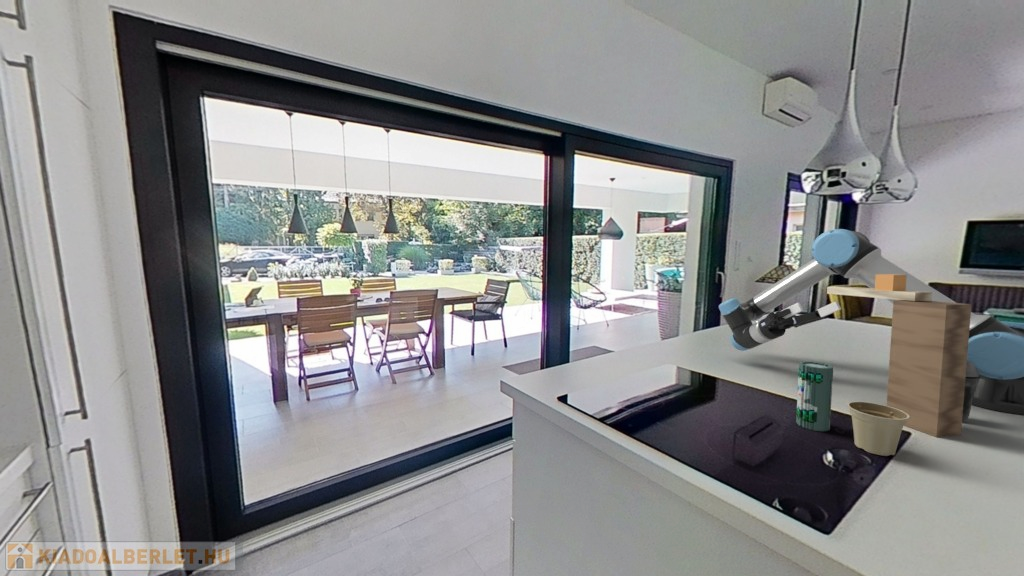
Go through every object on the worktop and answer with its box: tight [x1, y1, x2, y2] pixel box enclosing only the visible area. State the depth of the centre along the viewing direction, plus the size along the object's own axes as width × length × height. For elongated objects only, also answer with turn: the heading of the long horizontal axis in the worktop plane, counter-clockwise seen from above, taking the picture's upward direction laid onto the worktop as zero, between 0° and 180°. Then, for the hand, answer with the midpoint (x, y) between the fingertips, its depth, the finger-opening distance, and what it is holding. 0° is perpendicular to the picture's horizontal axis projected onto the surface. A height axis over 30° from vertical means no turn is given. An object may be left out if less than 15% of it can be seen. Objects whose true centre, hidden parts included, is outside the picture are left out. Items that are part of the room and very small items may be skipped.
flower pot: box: [846, 400, 910, 457], centre depth 79 cm, size 9×9×9 cm
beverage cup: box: [962, 360, 980, 424], centre depth 93 cm, size 7×7×20 cm
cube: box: [875, 274, 907, 291], centre depth 96 cm, size 4×4×4 cm
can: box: [795, 360, 834, 432], centre depth 90 cm, size 6×6×15 cm
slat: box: [826, 285, 932, 301], centre depth 99 cm, size 5×21×2 cm, turn 10°
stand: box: [885, 300, 972, 438], centre depth 89 cm, size 7×10×30 cm
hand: (819, 305), depth 114 cm, fingers open, 13 cm apart
